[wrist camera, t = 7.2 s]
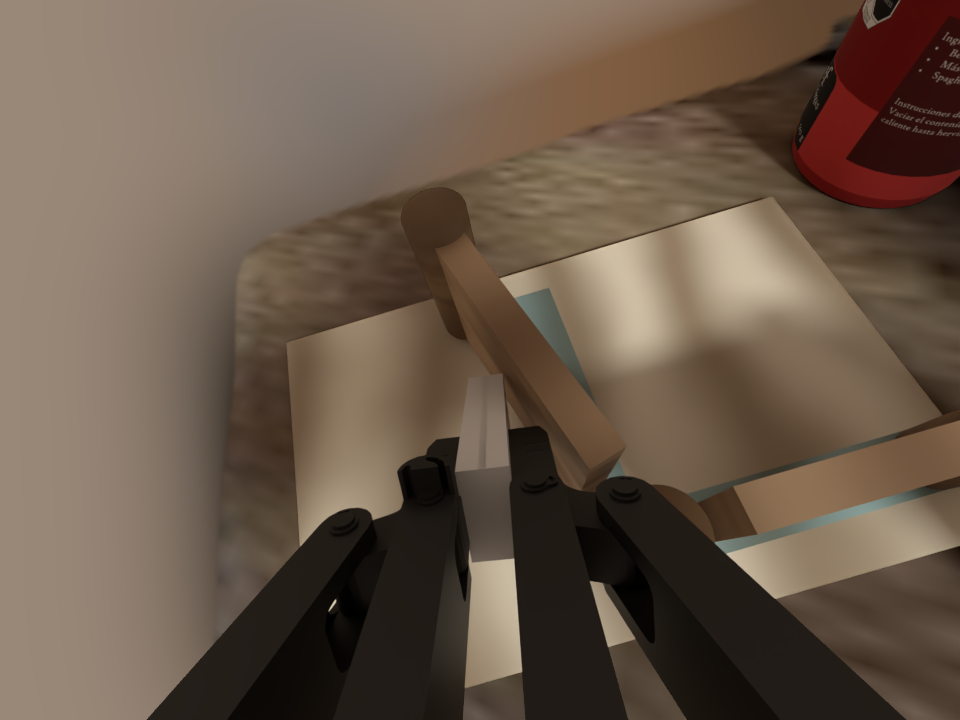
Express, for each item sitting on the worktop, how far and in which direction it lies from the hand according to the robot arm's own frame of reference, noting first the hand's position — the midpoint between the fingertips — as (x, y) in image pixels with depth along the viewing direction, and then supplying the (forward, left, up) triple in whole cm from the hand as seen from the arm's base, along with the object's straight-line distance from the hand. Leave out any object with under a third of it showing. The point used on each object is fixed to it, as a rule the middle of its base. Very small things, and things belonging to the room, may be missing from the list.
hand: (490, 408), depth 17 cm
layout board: (-4, 0, -4) cm, 5 cm away
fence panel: (-1, -2, -3) cm, 4 cm away
